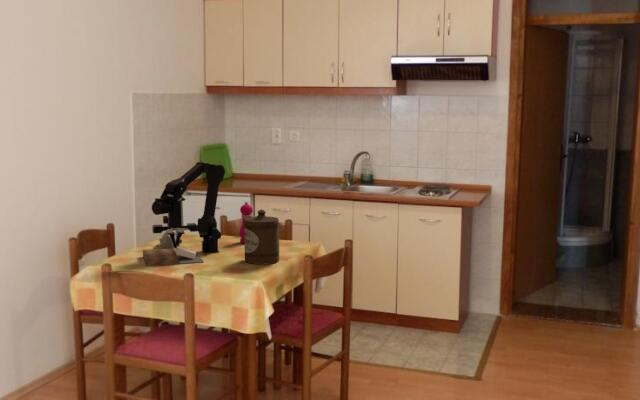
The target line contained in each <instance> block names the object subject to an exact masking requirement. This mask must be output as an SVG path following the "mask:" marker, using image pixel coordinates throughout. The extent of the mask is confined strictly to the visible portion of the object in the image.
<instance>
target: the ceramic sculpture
mask: <svg viewBox="0 0 640 400" xmlns="http://www.w3.org/2000/svg"><path fill="white" fill-rule="evenodd" d="M173 232H174V235H175V241H176V231H173ZM158 240H159V243H160V247H161V249H171V248H173V249H175V248H174V245H173V242H172V239H171V237H170V235H167V233H166V231H164V233H163V235H162V236H161V238H159V239H158ZM182 243H183V239H182V238H180V240H179V242H178V245H181V244H182Z"/></svg>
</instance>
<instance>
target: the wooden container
mask: <svg viewBox="0 0 640 400" xmlns="http://www.w3.org/2000/svg"><path fill="white" fill-rule="evenodd" d="M265 214H266V210H264V209H259V210H258V211H257V216H252V217H248V218H245V219H244V226H245V241H244V242H245V243H244V244H243V246H244V248H243V249H244V261H245V263H248V264H252V265H271V264H275V263H276V264H277V263H278V262H279V261H280V231H279V230H280V229H279V227H280V226H279V225H280V221H279V217H278V218H277V217H275V216H267V215H265Z"/></svg>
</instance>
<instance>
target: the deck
mask: <svg viewBox="0 0 640 400" xmlns="http://www.w3.org/2000/svg"><path fill="white" fill-rule="evenodd" d="M142 257H143V261H144V262H145V265H146V267H154V266H167V265H168V266H169V265H180V263H179V258H178V255H177V254H176V253H175V248H171V249H164V248H158V249H143V250H142Z"/></svg>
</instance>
